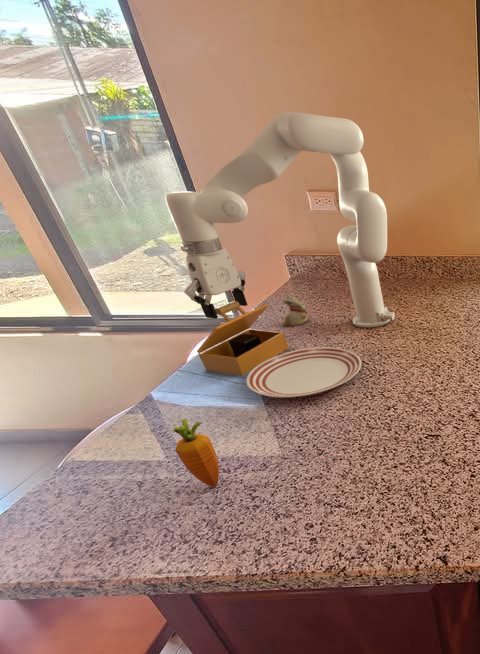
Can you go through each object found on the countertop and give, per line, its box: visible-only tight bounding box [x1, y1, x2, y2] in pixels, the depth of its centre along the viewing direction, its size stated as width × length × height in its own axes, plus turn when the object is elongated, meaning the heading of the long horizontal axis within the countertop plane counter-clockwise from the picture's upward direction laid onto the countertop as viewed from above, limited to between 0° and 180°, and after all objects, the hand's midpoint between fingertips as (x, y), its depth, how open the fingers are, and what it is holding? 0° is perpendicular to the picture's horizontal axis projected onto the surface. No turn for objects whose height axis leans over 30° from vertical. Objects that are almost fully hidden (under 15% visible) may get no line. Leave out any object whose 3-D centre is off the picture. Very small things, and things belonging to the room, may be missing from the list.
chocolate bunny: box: [282, 294, 308, 327], centre depth 143 cm, size 6×8×10 cm
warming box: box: [198, 327, 289, 377], centre depth 120 cm, size 12×17×6 cm
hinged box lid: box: [196, 300, 270, 354], centre depth 116 cm, size 13×17×6 cm
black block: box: [229, 334, 261, 358], centre depth 120 cm, size 5×5×6 cm
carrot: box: [172, 418, 220, 488], centre depth 76 cm, size 5×5×15 cm
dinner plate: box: [245, 346, 362, 399], centre depth 113 cm, size 28×27×3 cm
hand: (227, 311), depth 114 cm, fingers open, 9 cm apart
